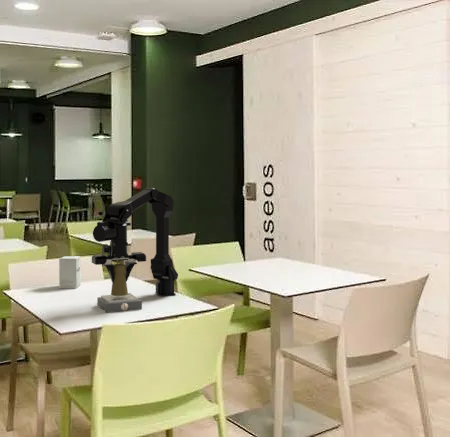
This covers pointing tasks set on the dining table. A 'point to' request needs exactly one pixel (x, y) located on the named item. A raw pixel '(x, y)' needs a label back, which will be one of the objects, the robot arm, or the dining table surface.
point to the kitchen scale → (119, 303)
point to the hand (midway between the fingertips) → (119, 281)
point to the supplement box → (69, 272)
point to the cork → (119, 281)
